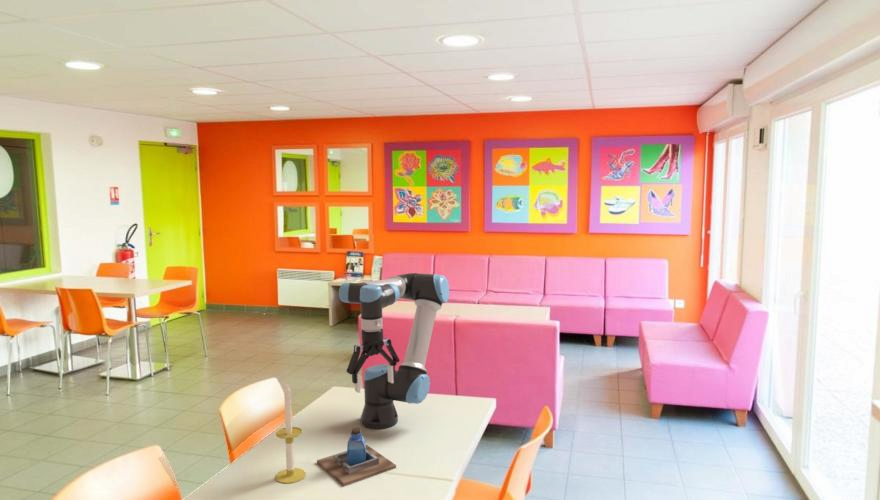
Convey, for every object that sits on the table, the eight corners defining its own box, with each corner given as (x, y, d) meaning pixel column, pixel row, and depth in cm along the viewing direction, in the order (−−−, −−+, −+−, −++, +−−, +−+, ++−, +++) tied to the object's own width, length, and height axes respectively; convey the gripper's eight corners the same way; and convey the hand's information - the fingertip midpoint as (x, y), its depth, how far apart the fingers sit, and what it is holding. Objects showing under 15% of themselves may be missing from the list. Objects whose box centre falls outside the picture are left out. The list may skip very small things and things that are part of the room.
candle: (277, 486, 191) (273, 389, 187) (273, 472, 200) (269, 379, 196) (308, 479, 195) (305, 385, 191) (302, 466, 204) (299, 375, 200)
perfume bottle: (348, 458, 207) (347, 426, 206) (365, 457, 208) (365, 425, 206) (347, 467, 201) (346, 433, 199) (365, 466, 202) (365, 432, 200)
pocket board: (316, 462, 206) (316, 454, 206) (366, 447, 218) (366, 439, 218) (344, 486, 190) (343, 477, 190) (396, 467, 202) (395, 459, 202)
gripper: (345, 338, 196) (348, 398, 199) (407, 324, 210) (409, 381, 214) (335, 333, 202) (337, 392, 205) (396, 320, 216) (398, 375, 220)
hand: (374, 386), depth 209 cm, fingers open, 13 cm apart
